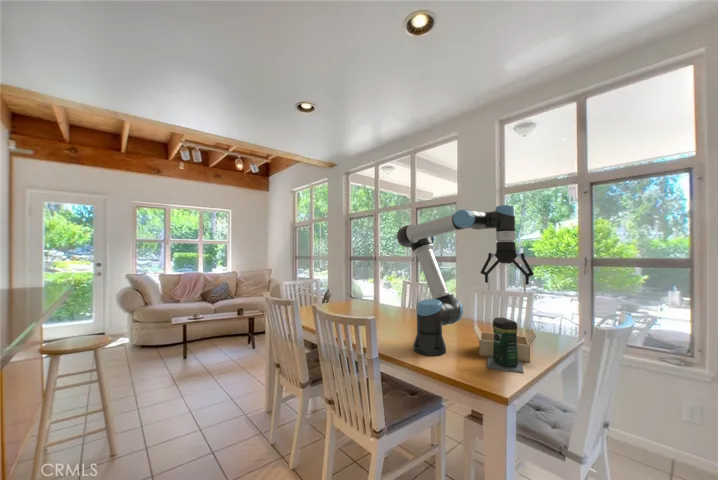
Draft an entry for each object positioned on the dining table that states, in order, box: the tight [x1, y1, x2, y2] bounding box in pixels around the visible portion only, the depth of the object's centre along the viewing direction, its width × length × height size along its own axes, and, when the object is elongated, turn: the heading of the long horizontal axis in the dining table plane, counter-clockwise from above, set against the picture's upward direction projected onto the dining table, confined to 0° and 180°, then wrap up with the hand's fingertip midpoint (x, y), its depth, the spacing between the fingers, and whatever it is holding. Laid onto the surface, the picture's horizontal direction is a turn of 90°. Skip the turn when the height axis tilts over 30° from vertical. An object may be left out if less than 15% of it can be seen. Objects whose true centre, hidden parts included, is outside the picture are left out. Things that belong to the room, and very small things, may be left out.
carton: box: [473, 322, 537, 363], centre depth 140 cm, size 25×15×11 cm, turn 66°
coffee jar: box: [492, 317, 519, 367], centre depth 126 cm, size 10×8×19 cm
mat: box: [486, 356, 524, 374], centre depth 126 cm, size 13×13×1 cm
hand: (506, 291), depth 129 cm, fingers open, 13 cm apart
